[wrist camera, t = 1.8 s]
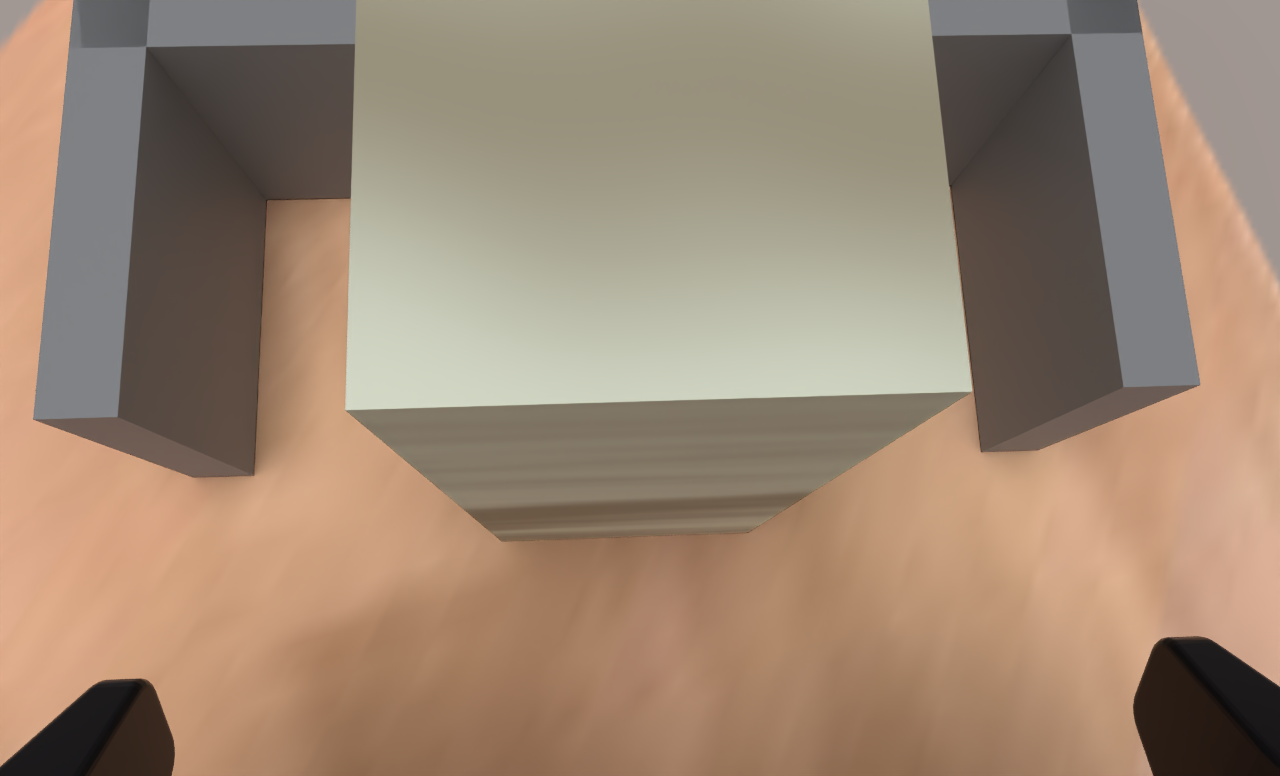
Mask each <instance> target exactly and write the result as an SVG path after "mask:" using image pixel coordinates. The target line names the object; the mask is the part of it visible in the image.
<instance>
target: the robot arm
mask: <svg viewBox="0 0 1280 776" xmlns="http://www.w3.org/2000/svg"><path fill="white" fill-rule="evenodd" d="M1133 711H1134V719H1135V723H1136V727H1137V730H1138V733H1139V736H1140V739H1141V741H1142V744H1143V747H1144V750H1145V753H1146V756H1147V759H1148V762H1149V765H1150V767H1151V770H1152V773H1153V776H1280V687H1279V686H1278V685H1277V684H1275V683H1274V682H1272V681H1271V680H1269V679H1268V678H1266V677H1265V676H1263V675H1262V674H1261V673H1259V672H1258V671H1256V670H1255V669H1253V668H1252V667H1250V666H1249V665H1248V664H1246V663H1245V662H1243V661H1242V660H1240V659H1239V658H1237V657H1236V656H1235V655H1233V654H1232V653H1230V652H1229V651H1227V650H1226V649H1224V648H1223V647H1221V646H1220V645H1219V644H1217V643H1215V642H1214V641H1212V640H1210V639H1208V638H1205V637H1199V636H1193V637H1168V638H1163V639H1161V640H1159V641H1158V642H1157V643H1156V644H1155V645H1154V647H1153V649H1152V651H1151V654H1150V657H1149V659H1148V662H1147V665H1146V667H1145V670H1144V673H1143V675H1142V678H1141V681H1140V683H1139V686H1138V689H1137V691H1136V694H1135V697H1134V704H1133ZM174 758H175V747H174V740H173V737H172V734H171V731H170V728H169V726H168V723H167V720H166V717H165V715H164V712H163V709H162V707H161V704H160V701H159V698H158V696H157V693H156V690H155V689H154V687H153V685H152V684H151V683H150V682H149V681H147V680H146V679H116V680H104V681H101V682H98V683H97V684H95V685H93V686H92V687H90V688H89V689H88V690H87V691H86V692H85V693H83V694H82V695H81V696H80V697H79V698H78V699H77V700H75V701H74V702H73V703H72V704H71V705H70V706H69V707H68V708H66V709H65V710H64V711H63V712H62V713H61V714H60V715H58V716H57V717H56V718H55V719H54V720H53V721H52V722H50V723H49V724H48V725H47V726H46V727H45V728H44V729H43V730H41V731H40V732H39V733H38V734H37V735H36V736H35V737H33V738H32V739H31V740H30V741H29V742H28V743H27V744H26V745H24V746H23V747H22V748H21V749H20V750H19V751H18V752H16V753H15V754H14V755H13V756H12V757H11V758H10V759H8V760H7V761H6V762H5V763H4V764H3V765H2V766H1V767H0V776H172V771H173V766H174Z"/></svg>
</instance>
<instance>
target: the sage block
mask: <svg viewBox="0 0 1280 776" xmlns="http://www.w3.org/2000/svg"><path fill="white" fill-rule="evenodd" d="M971 392H972V383H971V375H970V366H969V357H968V348H967V339H966V331H965V322H964V313H963V304H962V295H961V286H960V278H959V269H958V260H957V251H956V242H955V234H954V225H953V216H952V207H951V198H950V190H949V181H948V172H947V163H946V154H945V145H944V137H943V128H942V119H941V110H940V101H939V93H938V84H937V75H936V66H935V57H934V49H933V40H932V31H931V22H930V13H929V5H928V0H356V28H355V66H354V103H353V141H352V178H351V215H350V253H349V290H348V328H347V365H346V403H345V410H346V411H347V412H348V413H349V414H350V415H352V416H353V417H354V418H355V419H356V420H358V421H359V422H360V423H361V424H362V425H364V426H365V427H366V428H367V429H368V430H370V431H371V432H372V433H373V434H374V435H376V436H377V437H378V438H379V439H380V440H382V441H383V442H384V443H385V444H386V445H387V446H389V447H390V448H391V449H392V450H393V451H395V452H396V453H397V454H398V455H399V456H401V457H402V458H403V459H404V460H405V461H407V462H408V463H409V464H410V465H411V466H413V467H414V468H415V469H416V470H417V471H419V472H420V473H421V474H422V475H423V476H425V477H426V478H427V479H428V480H429V481H430V482H432V483H433V484H434V485H435V486H436V487H438V488H439V489H440V490H441V491H442V492H444V493H445V494H446V495H447V496H448V497H450V498H451V499H452V500H453V501H454V502H456V503H457V504H458V505H459V506H460V507H462V508H463V509H464V510H465V511H466V512H468V513H469V514H470V515H471V516H472V517H473V518H475V519H476V520H477V521H478V522H479V523H481V524H482V525H483V526H484V527H485V528H487V529H488V530H489V531H490V532H491V533H493V534H494V535H495V536H496V537H497V538H499V539H500V540H501V541H528V540H556V539H584V538H612V537H641V536H669V535H697V534H725V533H748V532H750V531H752V530H753V529H755V528H756V527H758V526H760V525H761V524H763V523H764V522H766V521H768V520H769V519H771V518H772V517H774V516H775V515H777V514H779V513H780V512H782V511H783V510H785V509H787V508H788V507H790V506H791V505H793V504H795V503H796V502H798V501H799V500H801V499H802V498H804V497H806V496H807V495H809V494H810V493H812V492H814V491H815V490H817V489H818V488H820V487H822V486H823V485H825V484H826V483H828V482H830V481H831V480H833V479H834V478H836V477H837V476H839V475H841V474H842V473H844V472H845V471H847V470H849V469H850V468H852V467H853V466H855V465H857V464H858V463H860V462H861V461H863V460H864V459H866V458H868V457H869V456H871V455H872V454H874V453H876V452H877V451H879V450H880V449H882V448H884V447H885V446H887V445H888V444H890V443H892V442H893V441H895V440H896V439H898V438H899V437H901V436H903V435H904V434H906V433H907V432H909V431H911V430H912V429H914V428H915V427H917V426H919V425H920V424H922V423H923V422H925V421H926V420H928V419H930V418H931V417H933V416H934V415H936V414H938V413H939V412H941V411H942V410H944V409H946V408H947V407H949V406H950V405H952V404H954V403H955V402H957V401H958V400H960V399H961V398H963V397H965V396H966V395H968V394H969V393H971Z"/></svg>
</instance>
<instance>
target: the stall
mask: <svg viewBox="0 0 1280 776" xmlns="http://www.w3.org/2000/svg"><path fill="white" fill-rule="evenodd" d="M928 5H929V13H930V22H931V31H932V40H933V49H934V57H935V66H936V75H937V84H938V93H939V101H940V110H941V119H942V128H943V137H944V145H945V154H946V163H947V172H948V181H949V185H951V189H952V198H953V207H954V216H955V224H956V233H957V242H958V251H959V259H960V268H961V277H962V286H963V294H964V303H965V312H966V321H967V330H968V338H969V347H970V356H971V365H972V373H973V382H974V391H975V400H976V408H977V417H978V426H979V435H980V443H981V452H998V451H1029V450H1040V449H1042V448H1045V447H1047V446H1050V445H1052V444H1055V443H1057V442H1060V441H1062V440H1065V439H1067V438H1069V437H1072V436H1074V435H1077V434H1079V433H1082V432H1084V431H1087V430H1089V429H1092V428H1094V427H1097V426H1099V425H1102V424H1104V423H1107V422H1109V421H1112V420H1114V419H1117V418H1119V417H1122V416H1124V415H1127V414H1129V413H1132V412H1134V411H1137V410H1139V409H1142V408H1144V407H1147V406H1149V405H1152V404H1154V403H1157V402H1159V401H1162V400H1164V399H1167V398H1169V397H1172V396H1174V395H1177V394H1179V393H1182V392H1184V391H1187V390H1189V389H1192V388H1194V387H1197V386H1199V385H1200V379H1199V373H1198V367H1197V361H1196V355H1195V349H1194V343H1193V337H1192V331H1191V325H1190V319H1189V313H1188V307H1187V300H1186V294H1185V288H1184V282H1183V276H1182V270H1181V264H1180V258H1179V252H1178V246H1177V240H1176V234H1175V228H1174V222H1173V216H1172V210H1171V203H1170V197H1169V191H1168V185H1167V179H1166V173H1165V167H1164V161H1163V155H1162V149H1161V143H1160V137H1159V131H1158V125H1157V119H1156V113H1155V106H1154V100H1153V94H1152V88H1151V82H1150V76H1149V70H1148V64H1147V58H1146V52H1145V46H1144V40H1143V34H1142V28H1141V22H1140V16H1139V9H1138V3H1137V0H928ZM355 28H356V0H74V1H73V11H72V22H71V32H70V42H69V53H68V63H67V74H66V84H65V94H64V105H63V115H62V126H61V136H60V146H59V157H58V167H57V178H56V188H55V198H54V209H53V219H52V229H51V240H50V250H49V261H48V271H47V281H46V292H45V302H44V313H43V323H42V333H41V344H40V354H39V365H38V375H37V385H36V396H35V406H34V417H33V420H36V421H39V422H41V423H44V424H47V425H50V426H52V427H55V428H58V429H61V430H64V431H66V432H69V433H72V434H75V435H77V436H80V437H83V438H86V439H88V440H91V441H94V442H97V443H99V444H102V445H105V446H108V447H111V448H113V449H116V450H119V451H122V452H124V453H127V454H130V455H133V456H135V457H138V458H141V459H144V460H146V461H149V462H152V463H155V464H157V465H160V466H163V467H166V468H169V469H171V470H174V471H177V472H180V473H182V474H185V475H188V476H191V477H224V476H254V456H255V435H256V413H257V392H258V371H259V349H260V328H261V306H262V285H263V263H264V242H265V220H266V200H269V199H318V198H351V178H352V141H353V103H354V66H355Z"/></svg>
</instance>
